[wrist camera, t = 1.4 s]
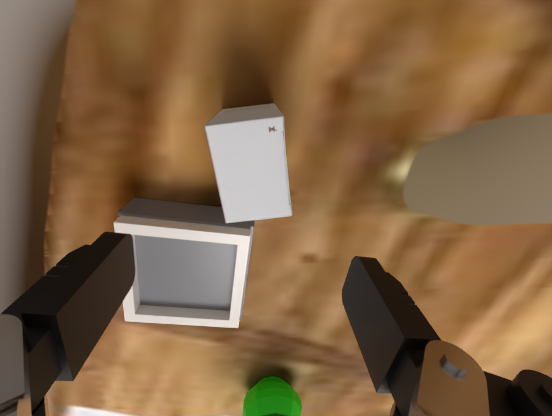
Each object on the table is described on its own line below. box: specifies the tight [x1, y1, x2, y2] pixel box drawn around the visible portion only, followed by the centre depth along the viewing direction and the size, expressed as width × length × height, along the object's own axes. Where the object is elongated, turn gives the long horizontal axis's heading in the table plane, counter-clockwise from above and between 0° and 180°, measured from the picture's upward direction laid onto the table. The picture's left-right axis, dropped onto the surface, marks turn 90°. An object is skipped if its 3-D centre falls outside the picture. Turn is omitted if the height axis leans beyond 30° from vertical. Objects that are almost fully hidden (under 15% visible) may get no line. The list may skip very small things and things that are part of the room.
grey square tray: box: [114, 197, 254, 328], centre depth 32 cm, size 14×14×6 cm
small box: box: [204, 103, 292, 223], centre depth 24 cm, size 8×6×10 cm
